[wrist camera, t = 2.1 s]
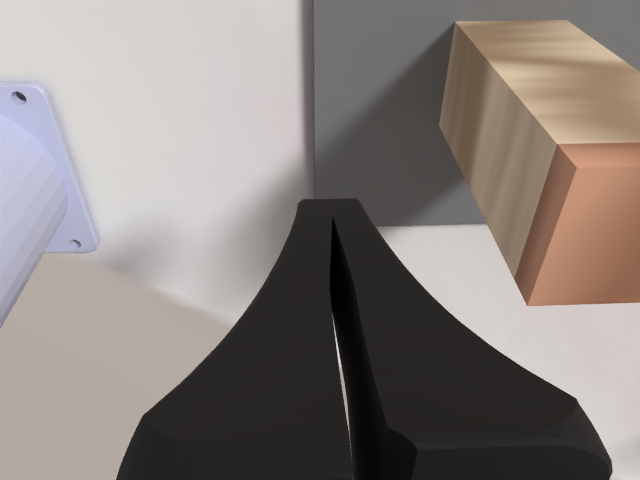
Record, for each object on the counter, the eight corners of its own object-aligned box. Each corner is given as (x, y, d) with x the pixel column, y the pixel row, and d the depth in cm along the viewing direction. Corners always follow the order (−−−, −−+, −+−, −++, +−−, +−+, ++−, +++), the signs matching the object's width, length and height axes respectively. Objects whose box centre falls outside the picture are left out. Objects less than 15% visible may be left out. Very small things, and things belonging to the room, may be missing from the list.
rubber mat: (315, 221, 24) (315, 227, 24) (311, -158, 15) (312, -157, 15) (772, 209, 25) (780, 215, 24) (1019, -159, 16) (1037, -159, 16)
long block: (438, 125, 21) (527, 306, 13) (455, 21, 18) (576, 167, 10) (536, 123, 21) (683, 301, 13) (566, 20, 18) (768, 163, 11)
